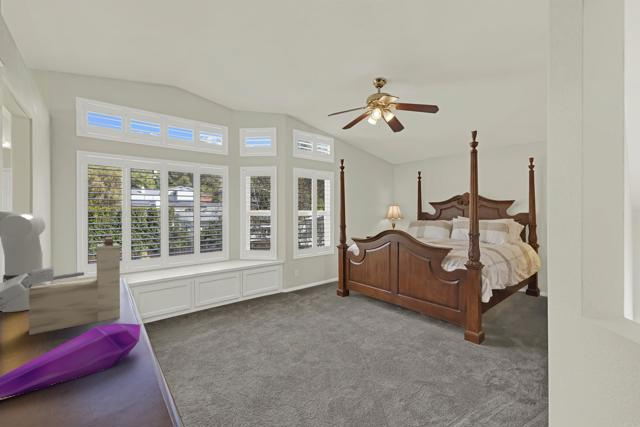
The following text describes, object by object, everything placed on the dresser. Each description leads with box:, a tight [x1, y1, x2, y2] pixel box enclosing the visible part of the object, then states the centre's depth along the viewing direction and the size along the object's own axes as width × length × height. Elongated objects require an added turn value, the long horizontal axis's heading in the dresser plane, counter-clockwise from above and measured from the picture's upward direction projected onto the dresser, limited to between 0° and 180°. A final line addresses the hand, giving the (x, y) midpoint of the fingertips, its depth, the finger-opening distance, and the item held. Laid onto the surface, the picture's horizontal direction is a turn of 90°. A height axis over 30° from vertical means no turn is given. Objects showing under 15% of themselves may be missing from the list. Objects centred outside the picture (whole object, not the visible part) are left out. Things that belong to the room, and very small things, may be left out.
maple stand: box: [28, 236, 121, 335], centre depth 103 cm, size 8×24×30 cm, turn 130°
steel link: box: [31, 266, 85, 284], centre depth 100 cm, size 13×4×4 cm, turn 130°
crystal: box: [0, 322, 141, 398], centre depth 72 cm, size 9×15×30 cm
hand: (43, 272), depth 97 cm, fingers closed on steel link, 4 cm apart
